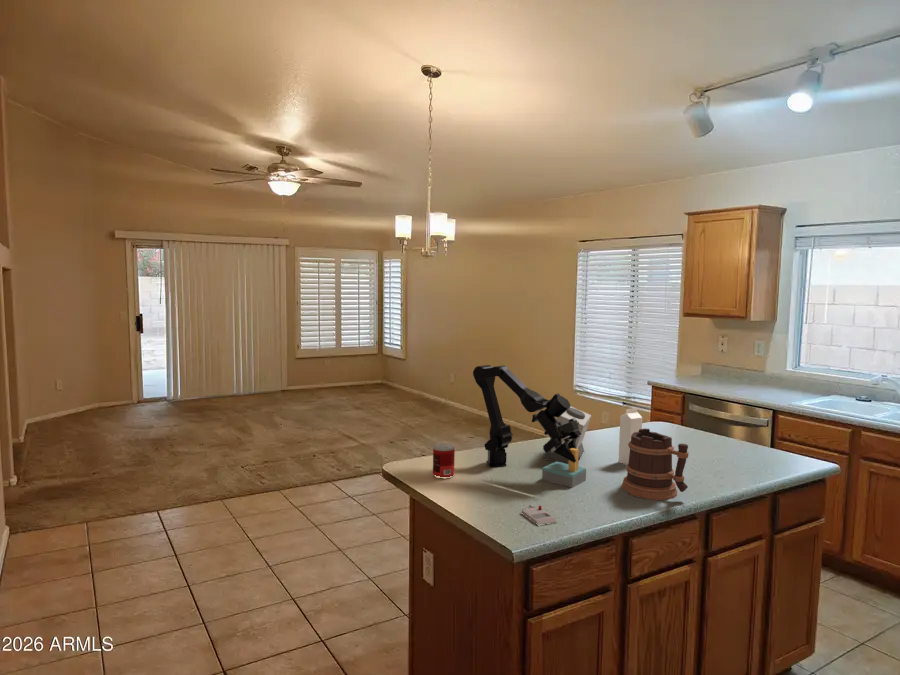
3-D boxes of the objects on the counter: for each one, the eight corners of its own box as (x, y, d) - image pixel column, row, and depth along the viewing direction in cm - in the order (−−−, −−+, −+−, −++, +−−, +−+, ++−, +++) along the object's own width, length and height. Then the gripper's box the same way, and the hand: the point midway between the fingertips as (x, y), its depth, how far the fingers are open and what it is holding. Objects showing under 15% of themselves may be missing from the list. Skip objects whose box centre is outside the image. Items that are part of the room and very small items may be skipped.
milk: (618, 462, 230) (620, 407, 228) (629, 460, 232) (631, 406, 230) (629, 466, 224) (631, 410, 222) (640, 464, 227) (642, 409, 225)
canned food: (457, 474, 211) (458, 445, 210) (448, 480, 204) (448, 450, 203) (438, 471, 215) (439, 442, 214) (429, 477, 207) (429, 447, 206)
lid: (542, 473, 205) (543, 447, 204) (556, 466, 212) (557, 441, 212) (572, 480, 197) (573, 453, 196) (586, 473, 205) (587, 447, 204)
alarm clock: (553, 447, 249) (554, 401, 247) (590, 452, 243) (591, 405, 241) (542, 460, 230) (544, 410, 228) (582, 465, 224) (584, 414, 222)
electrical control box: (541, 530, 165) (541, 520, 164) (514, 510, 179) (515, 501, 179) (561, 527, 167) (561, 517, 167) (533, 507, 182) (533, 498, 181)
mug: (671, 508, 182) (674, 446, 180) (610, 488, 199) (612, 431, 198) (700, 495, 194) (703, 437, 192) (640, 477, 211) (642, 424, 209)
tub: (542, 481, 205) (542, 470, 205) (556, 474, 213) (556, 464, 212) (572, 489, 197) (572, 477, 197) (585, 482, 205) (586, 471, 205)
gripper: (551, 416, 196) (580, 454, 190) (577, 407, 210) (604, 442, 204) (531, 434, 202) (558, 472, 196) (557, 425, 216) (583, 460, 210)
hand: (577, 461), depth 201 cm, fingers open, 3 cm apart
